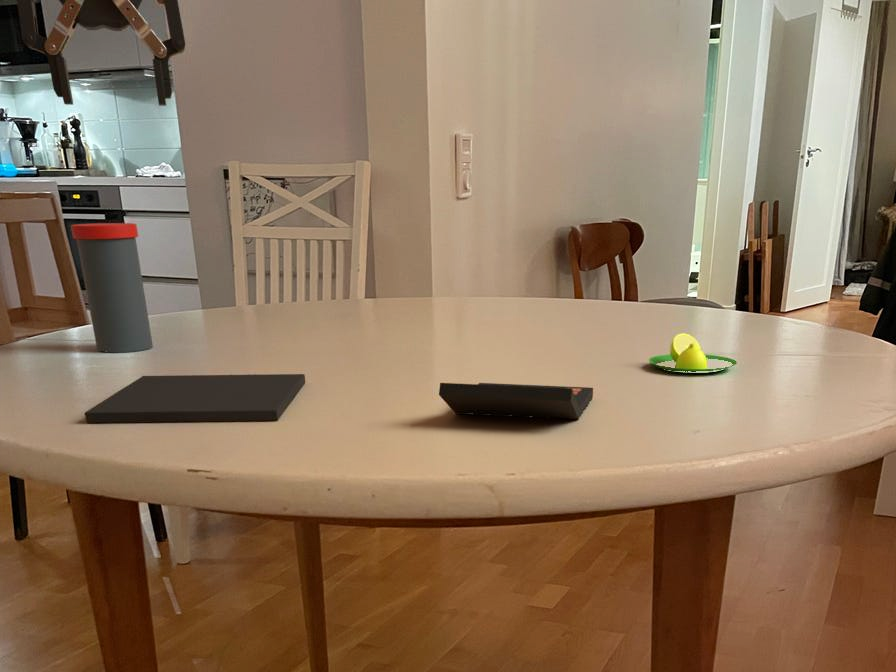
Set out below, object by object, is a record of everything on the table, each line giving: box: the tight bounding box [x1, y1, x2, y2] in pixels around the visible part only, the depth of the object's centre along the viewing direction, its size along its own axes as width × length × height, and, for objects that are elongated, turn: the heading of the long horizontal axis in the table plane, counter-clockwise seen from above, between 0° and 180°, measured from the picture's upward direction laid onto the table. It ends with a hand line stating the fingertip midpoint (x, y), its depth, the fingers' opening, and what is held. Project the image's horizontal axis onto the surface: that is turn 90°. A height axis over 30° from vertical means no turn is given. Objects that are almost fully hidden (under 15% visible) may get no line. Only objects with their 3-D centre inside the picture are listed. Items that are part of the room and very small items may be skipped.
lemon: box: [648, 333, 738, 372], centre depth 84 cm, size 8×8×3 cm
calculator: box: [438, 382, 594, 420], centre depth 69 cm, size 9×12×3 cm
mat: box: [84, 373, 306, 424], centre depth 73 cm, size 14×14×1 cm
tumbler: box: [70, 222, 154, 353], centre depth 95 cm, size 6×6×12 cm
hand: (115, 104), depth 88 cm, fingers open, 8 cm apart
